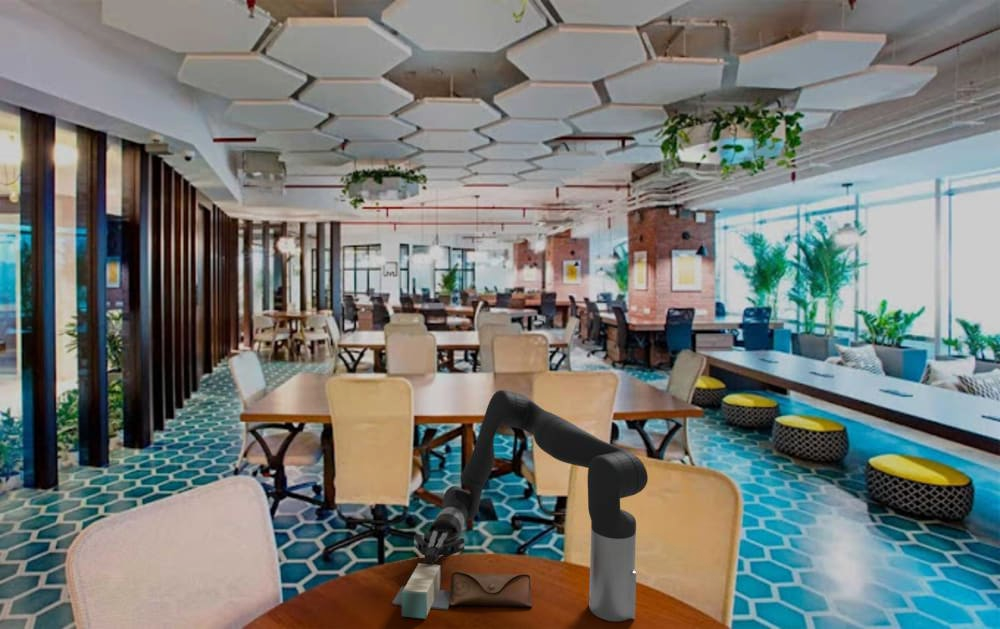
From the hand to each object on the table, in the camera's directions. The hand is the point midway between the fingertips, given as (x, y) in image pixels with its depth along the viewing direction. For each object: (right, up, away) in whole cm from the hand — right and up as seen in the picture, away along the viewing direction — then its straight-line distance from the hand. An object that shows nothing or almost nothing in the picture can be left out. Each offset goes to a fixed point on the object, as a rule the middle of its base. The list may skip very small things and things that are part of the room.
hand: (429, 560), depth 123 cm
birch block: (0, -4, 0) cm, 4 cm away
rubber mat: (-1, -7, -4) cm, 8 cm away
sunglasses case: (+14, -7, -3) cm, 16 cm away
